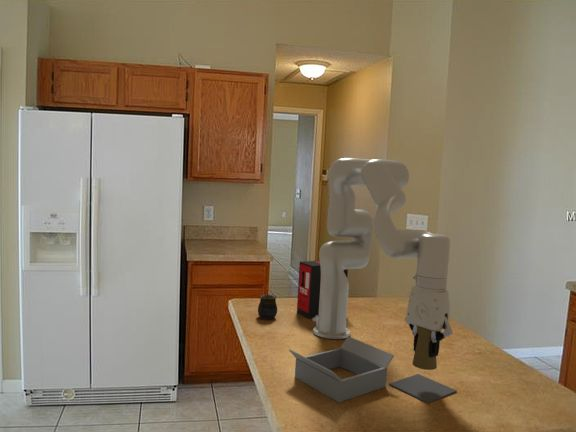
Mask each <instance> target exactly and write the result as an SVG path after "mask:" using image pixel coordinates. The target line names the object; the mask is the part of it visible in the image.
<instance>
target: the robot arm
mask: <svg viewBox="0 0 576 432" xmlns="http://www.w3.org/2000/svg"><path fill="white" fill-rule="evenodd" d="M409 173H410V172H409V169H408V167H407V165H406V164H405V163H403V162H402V161H399V160H392V159H380V158H379V159H377V158H375V159H370V158H369V159H366V158H357V157H356V158H355V157H344V158H343V157H342V158H338V159H336V160H335V161H334V162H333V163H332V164H331V166H330V168H329V171H328V177H327V178H328V179H327V180H328V187H329V201H328V211H327V218H326V219H327V221H326V229H327V230H326V231H327V233H328V234H329V235H330V236H331V237H335V238H351V239H352V240H331V241H327V242H324V243H323V244H322V245H321V246H320V248H319V253H318V255H319V256H318V257H319V258H318V259H319V261H320V267H321V283H320V301H319V315H316V316H315V318H313V319H311V321H312V322H313V323H315V326H314V327H313V329H312V333H313V334H314V335H315V336H317V337H320V338H324V339H329V340H343V339H347V337H348V336H349V337H351V330H350V329H349V328H347V320H348V319H347V317H348V302H349V291H350V290H349V288H350V286H349V279H348V276H347V277H346V275H345V273H344V269H348V270H354V269H355V270H356V269H363V268H365V267H366V266H367V265H368V263H369V261H370V259H371V258H370V257H371V253H372V251H371V250H372V243H373V236H374V235H375V237H376V240H377V241H378V243H379V245H380V248H381V249H382V250H383V252H384V253H385V254H386V255H387V256H388V257H390V258H392V259H417V262H416V271H415V272H416V274H413V275H412V279H413V280H415V284H413V285H412V287H411V290H410V294H409V297H408V302H407V309H406V316H405V317H404V321H405V323H406V324H407V325H408V326H409V328H410V330H411V332H412V336H413V352H415V349H416V344H417V340H418V333H417V326H418V327H421V328H424V329H427V330H431V331H432V333H431V338H432V341H430V342H429V357H431V358H432V357H435V356H436V357H437V356H439V353H440V343H441V342H442V340H444V339H445V338H447V337H449V336H452V335H453V334H454V332H453V330H452V327H451V325H450V314H451V313H450V312H451V311H450V310H451V309H450V307H451V305H450V304H451V303H450V295H449V290H447V283H448V272H449V260H450V259H449V258H450V245H451V241H450V237H449V236H448V235H445V234H440V233H432V232H430V231H428V230H424V229H397V227H396V225H395V224H394V222H393V220H392V218H391V215H393V214H394V213H395V214H396V213H397V212H398V211H399V210H401V209H402V208H403V207H404V205H405V204H406V202H407V197H406V194H405V193H404V191H403V189H402V188H404V187H406V185H407V184H408V182H409V178H410V174H409ZM352 186H362V187H363V186H366V188H367V191H368V193H369V194H370V196H371V199H373V203H374V204H375V206H376V208H377V209H376V211H375V213H374V219H373V217H372V215H371V214H370V212H369V211H368V210H365V209H356V208H355V207H356V193H355V191H354V188H353V187H352ZM373 234H374V235H373ZM442 330H444V331H442ZM436 332H437V334H436Z"/></svg>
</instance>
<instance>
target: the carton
mask: <svg viewBox="0 0 576 432" xmlns="http://www.w3.org/2000/svg"><path fill="white" fill-rule="evenodd" d="M288 352H290V353H291V354H292V356H293V357H294V358H295V367H294V368H295V369H294V378H295V379H297V380H299V381H301V382H302V383H304V384H306V385H308V386H310V387H311V388H313V389H314V390H316V391H319V392H320V393H321V394H323V395H325V396H327V397H328V398H330V399H332V400H334V401H335V402H337V403H341V402H344V401H347V400H350V399H353V398H356V397H358V396H362V395H365V394H368V393H371V392H374V391H376V390H377V391H378V390H380V389H383V388H386V385H387V383H386V382H387V374H388V372H387V371H388V367H389V365H390V363H391V362H392V360H393V358H394V357H395V355H394V354H392V353H390V352H387V351H385V350H383V349H380V348H377V347H375V346H373V345H371V344H368V343H366V342H364V341H362V340H358V339H356V338H353V337H351V336H348V337H347V338H345V340H344V341H343V343H342V345H341V346H340V348H335V349H331V350H326V351H322V352H319V353H318V352H317V353H314V354H310V355H309V354H308V355H306V356H305V355H304V356H303V355H302V354H300V353H298V352H296V351H294V350H292V349H288ZM339 367H341V368H343V369H345V370H347V371H349V372H351V373H353V374H355V375H351V376H349V377H346V378H341V379H340V377H339V376H338V375H337V374H336V373H335V372H334V371H333V370H332V369H336V368H339Z"/></svg>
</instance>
